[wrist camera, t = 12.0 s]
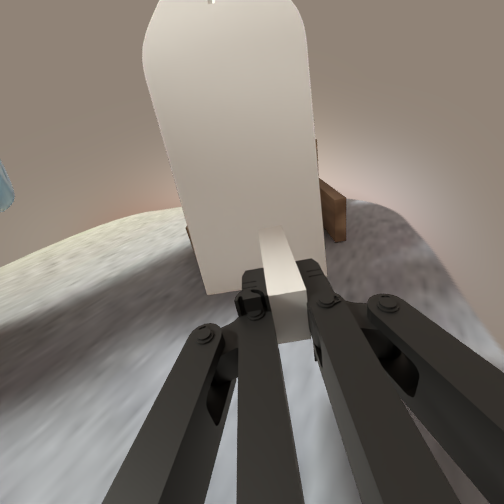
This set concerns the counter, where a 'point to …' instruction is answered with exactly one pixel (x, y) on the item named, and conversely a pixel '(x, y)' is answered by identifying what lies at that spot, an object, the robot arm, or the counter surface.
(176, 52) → the milk
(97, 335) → the counter surface
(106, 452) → the counter surface
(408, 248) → the counter surface
